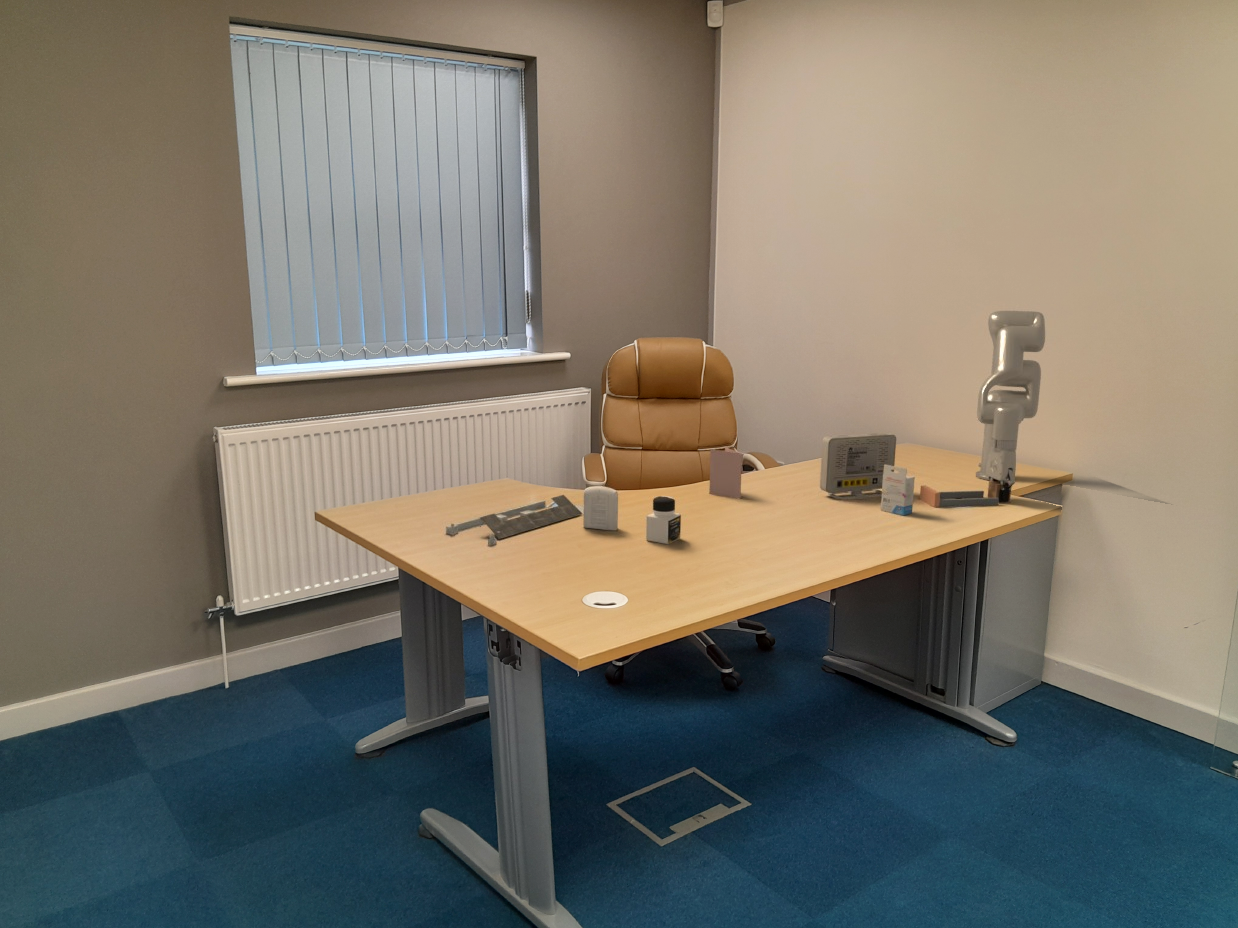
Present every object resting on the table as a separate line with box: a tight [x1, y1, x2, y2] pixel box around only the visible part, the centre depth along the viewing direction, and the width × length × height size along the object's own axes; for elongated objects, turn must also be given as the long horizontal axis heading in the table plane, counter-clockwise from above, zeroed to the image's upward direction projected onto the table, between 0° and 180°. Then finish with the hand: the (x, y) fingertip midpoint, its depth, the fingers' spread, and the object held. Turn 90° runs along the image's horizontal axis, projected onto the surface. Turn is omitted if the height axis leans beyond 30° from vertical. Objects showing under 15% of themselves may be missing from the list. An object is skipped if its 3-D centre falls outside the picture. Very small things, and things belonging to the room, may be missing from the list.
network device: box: [819, 432, 897, 500], centre depth 304 cm, size 26×9×20 cm, turn 108°
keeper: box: [986, 480, 1012, 504], centre depth 299 cm, size 5×5×6 cm
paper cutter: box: [445, 494, 584, 546], centre depth 271 cm, size 18×45×6 cm, turn 140°
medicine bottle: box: [645, 495, 682, 545], centre depth 255 cm, size 7×7×12 cm
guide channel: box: [919, 485, 1000, 508], centre depth 297 cm, size 10×22×4 cm, turn 98°
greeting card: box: [708, 446, 743, 499], centre depth 303 cm, size 11×7×15 cm, turn 22°
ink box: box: [880, 465, 916, 516], centre depth 284 cm, size 8×5×15 cm, turn 39°
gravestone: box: [582, 485, 619, 531], centre depth 265 cm, size 10×4×12 cm, turn 73°
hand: (998, 498), depth 299 cm, fingers closed on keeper, 5 cm apart
